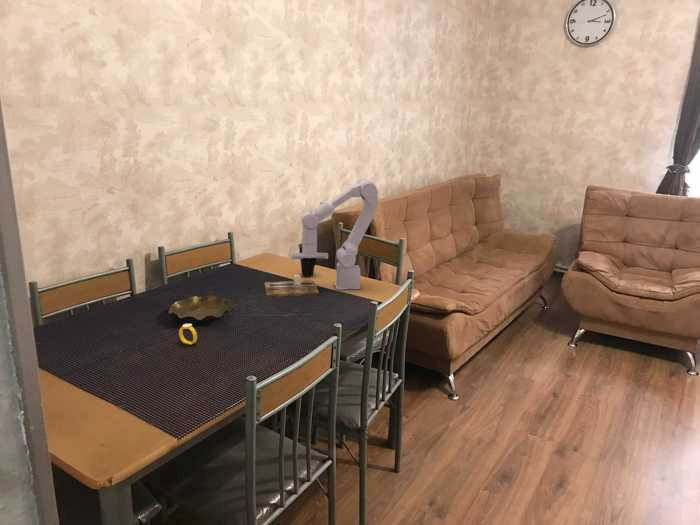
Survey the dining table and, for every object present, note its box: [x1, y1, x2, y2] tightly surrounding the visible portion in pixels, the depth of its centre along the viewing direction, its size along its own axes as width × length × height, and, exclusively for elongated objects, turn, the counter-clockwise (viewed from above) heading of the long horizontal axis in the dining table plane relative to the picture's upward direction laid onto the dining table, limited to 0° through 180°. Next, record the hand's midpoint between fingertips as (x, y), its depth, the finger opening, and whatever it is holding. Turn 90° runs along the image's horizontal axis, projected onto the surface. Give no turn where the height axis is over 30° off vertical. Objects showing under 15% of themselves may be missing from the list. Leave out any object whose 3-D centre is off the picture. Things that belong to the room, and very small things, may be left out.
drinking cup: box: [298, 242, 315, 278], centre depth 235 cm, size 8×8×20 cm
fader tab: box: [293, 273, 302, 285], centre depth 218 cm, size 3×4×4 cm
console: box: [264, 279, 320, 298], centre depth 218 cm, size 20×16×2 cm
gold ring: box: [178, 323, 198, 345], centre depth 166 cm, size 6×3×6 cm, turn 64°
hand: (309, 276), depth 219 cm, fingers closed
